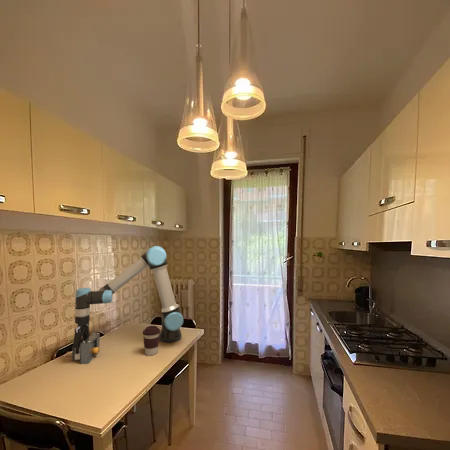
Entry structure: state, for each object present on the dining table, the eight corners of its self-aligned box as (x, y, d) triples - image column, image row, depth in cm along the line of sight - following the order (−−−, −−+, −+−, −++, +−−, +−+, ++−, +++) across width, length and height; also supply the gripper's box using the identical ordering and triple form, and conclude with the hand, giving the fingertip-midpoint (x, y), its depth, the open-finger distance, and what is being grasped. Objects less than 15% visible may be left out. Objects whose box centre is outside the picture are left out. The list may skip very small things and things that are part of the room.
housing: (99, 351, 157) (99, 332, 158) (88, 363, 141) (88, 342, 142) (92, 352, 157) (92, 332, 157) (80, 364, 141) (81, 342, 142)
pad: (83, 351, 158) (83, 350, 158) (79, 355, 152) (79, 355, 152) (68, 352, 157) (68, 351, 157) (63, 356, 151) (63, 356, 151)
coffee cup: (163, 351, 157) (163, 325, 158) (153, 357, 147) (153, 330, 149) (149, 349, 160) (149, 324, 161) (139, 355, 151) (139, 329, 152)
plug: (99, 355, 152) (99, 341, 152) (96, 359, 147) (97, 344, 148) (75, 357, 150) (76, 343, 150) (71, 361, 145) (72, 346, 145)
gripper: (83, 310, 160) (82, 348, 159) (66, 321, 139) (65, 364, 137) (96, 310, 161) (95, 347, 160) (81, 320, 140) (80, 363, 138)
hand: (81, 355), depth 148 cm, fingers open, 9 cm apart
